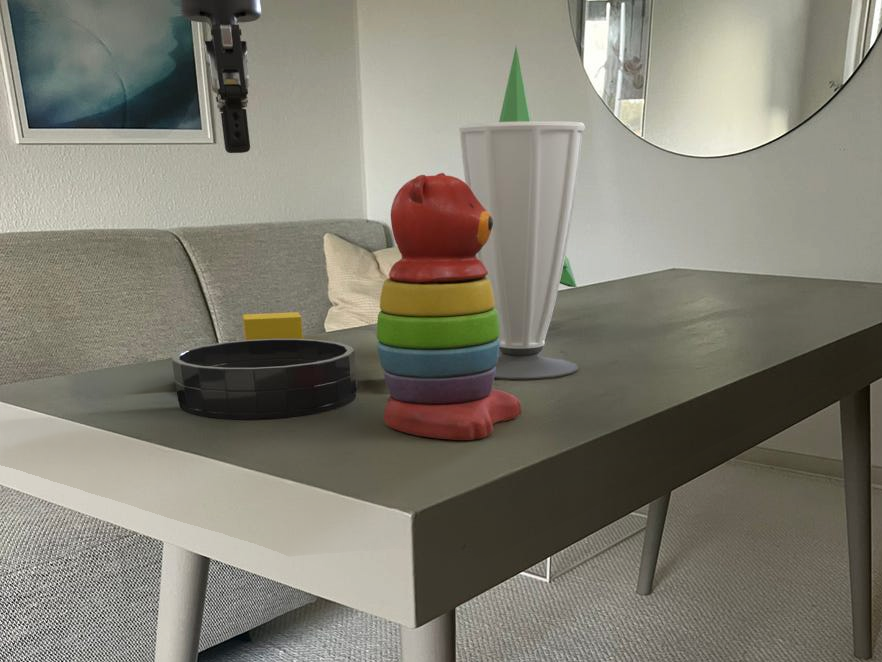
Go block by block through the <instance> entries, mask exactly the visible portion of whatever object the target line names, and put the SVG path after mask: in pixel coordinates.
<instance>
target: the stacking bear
mask: <svg viewBox="0 0 882 662" xmlns="http://www.w3.org/2000/svg"><path fill="white" fill-rule="evenodd" d="M390 224H391V231H392V234H393V238H394V241H395V244H396V246H397V249H398V251H399V253H400V255H401V259H399V260H398V261H396V262H395V263H394V264H393V265H391V268H390V270H389V272H388V277H389V278H386V279H385V280H384V281H383V283H382V286H381V287H382V288H381V293H380V298H379V299H380V300H379V308H380V311H379V312H378V314H377V324H376V339H377V340H378V342H377V352H378V358H379V363H380V365H381V368H382V369H383V376H384V380H385V384H386V387H387V391H388V393H389V395H390V396H389V397H388V400H387V402H386V404H385V408H384V413H383V421H384V423H385V425H386V426H387V427H389V428H390V429H393V430H396V431H398V432H402V433H406V434H409V435H414V436H418V437H424V438H430V439H431V438H433V439H439V440H451V441H452V440H453V441H473V440H479V439H484V438H486V437H489V436H490V435H491V434H493V432H494V429H493V425H494V424H496V423H501V422H505V421H511V420H514V419H516V418H517V417H519V416H520V415H521V414H522V405H521V402H520V400H519V399H518V398H517V397H516V396H515V395H513V394H511V393H509V392H507V391H504V390H501V389H495V388H493V386H494V382H495V379H494V377H495V371H496V368H495V366H496V364H497V361H498V357H499V354H500V349H499V346H500V341H499V338H498V337H499V335H500V326H499V319H498V313H497V310H496V309H495V308H494V306H495V301H494V296H493V291H492V287H491V284H490V281H489V279H488V278H486V277H485V276H486V275H487V274H488V271H487V269H486V267H485V266H484V265H483V263H482V262H481V261H480V260H478V259H477V258H476V254H477V253H478V252H479V251H480V250H481V249H482V247H483V246H484V245H485V244H486V242H487V241H488V239H489V236H490V233H491V230H492V226H493V219H492V216H491V215H490V214H489V213H488V212H487V210H486V209H485V208H484V207H483V206H482V205H481V204H480V202H479V201H478V200H477V198H476V197H475V195H474V194H473V192H472V191H471V189H470V188H469V186H468V185H467V184H466V183H465V181H464V180H462V179H460V178H459V177H455V176H453V175H446V174H445V173H444V172H439V173H437V174H435V175H426V174H420V175H418V176H416V177H415V178H412V179H410V180H408V181H406V182H405V183H404V184H403V185H402V186H401V187H400V189H399V190H398V191H397V193H396V194H395V196H394V198H393V201H392V203H391V207H390Z"/></svg>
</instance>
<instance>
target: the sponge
mask: <svg viewBox="0 0 882 662" xmlns="http://www.w3.org/2000/svg"><path fill="white" fill-rule="evenodd" d="M242 321H243V322H242V323H243V330H244V340H260V339H304V334H303V333H304V331H303V323H302V316H301V315H300V313H299V311H294V312H291V311H290V312H273V313H272V312H271V313H270V312H269V313H250V314H247V313H246V314H242Z"/></svg>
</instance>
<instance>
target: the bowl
mask: <svg viewBox="0 0 882 662" xmlns="http://www.w3.org/2000/svg"><path fill="white" fill-rule="evenodd" d="M355 358H356V357H355V349H354V348H353V347H352V346H351V345H349V344H345V343H341V342H339V341H338V342H337V341H330V340H323V339H311V338H310V339H309V338H303V339H260V340H245V339H244V340H235V341H234V340H233V341H225V342H216V343H211V344H204V345H199V346H195V347H191V348H187V349H183V350H181V351H178V352H177V353H174V354H173V355H172V359H171V362H172V369H173V375H174V381H175V382H174V383H175V389H176V397H177V402H178V405H179V408H181V410H182V411H184V412H186V413H188V414H191V415H194V416H195V415H196V416H200V417H204V418H214V419H224V420H225V419H226V420H269V419H272V420H273V419H284V418H293V417H294V418H295V417H301V416H302V417H303V416H309V415H314V414H320V413H326V412H329V411H332V410H336V409H339V408H342V407H344V406H347V405H349V404H351V403H353V402H354V400H355V399H356V397H357V375H356V359H355Z"/></svg>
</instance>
